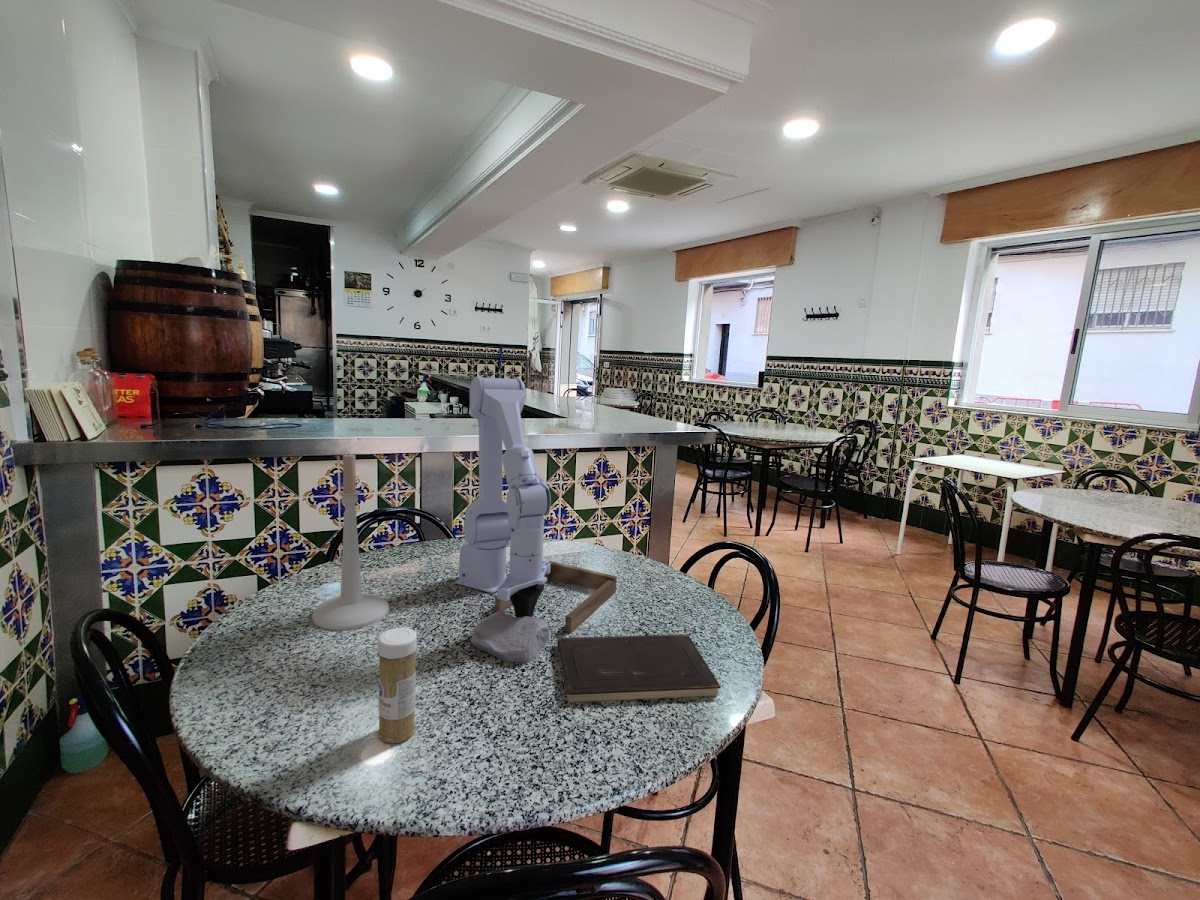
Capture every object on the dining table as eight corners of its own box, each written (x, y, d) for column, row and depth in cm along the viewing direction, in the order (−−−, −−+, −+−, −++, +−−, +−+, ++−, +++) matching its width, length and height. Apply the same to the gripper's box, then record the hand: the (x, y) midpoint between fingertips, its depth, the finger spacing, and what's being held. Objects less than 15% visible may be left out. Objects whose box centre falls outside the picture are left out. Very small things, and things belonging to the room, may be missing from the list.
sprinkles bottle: (371, 733, 69) (370, 634, 67) (404, 716, 72) (404, 622, 70) (390, 750, 66) (389, 648, 64) (423, 732, 69) (424, 635, 67)
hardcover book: (719, 700, 81) (720, 686, 81) (566, 707, 77) (567, 692, 77) (686, 644, 97) (687, 632, 96) (557, 648, 93) (557, 636, 92)
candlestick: (388, 625, 96) (387, 459, 91) (307, 634, 92) (301, 459, 87) (389, 595, 108) (388, 446, 103) (317, 601, 103) (313, 446, 99)
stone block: (529, 677, 86) (553, 637, 95) (527, 653, 85) (551, 614, 94) (464, 663, 90) (493, 626, 99) (460, 639, 88) (490, 603, 97)
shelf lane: (494, 611, 104) (495, 594, 103) (548, 575, 122) (549, 560, 122) (570, 633, 97) (571, 615, 96) (615, 591, 116) (616, 576, 115)
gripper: (523, 568, 87) (520, 647, 89) (565, 543, 100) (562, 612, 103) (487, 560, 90) (485, 636, 92) (533, 536, 103) (530, 603, 105)
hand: (523, 623), depth 98 cm, fingers closed
